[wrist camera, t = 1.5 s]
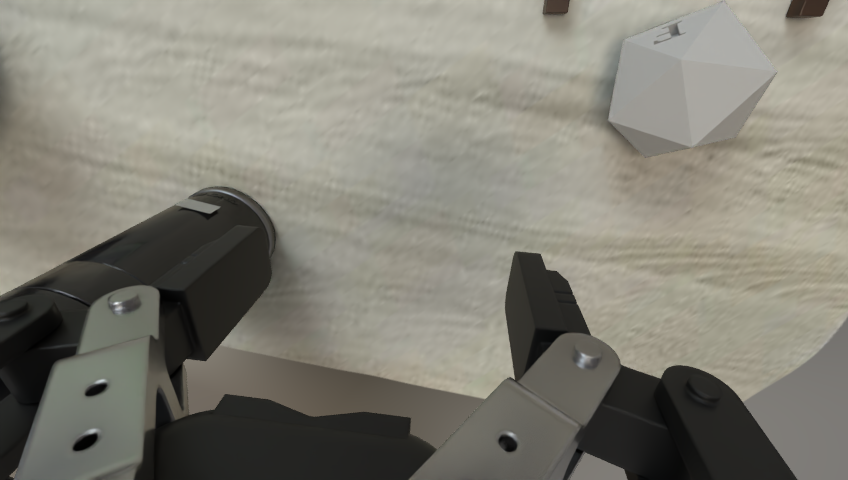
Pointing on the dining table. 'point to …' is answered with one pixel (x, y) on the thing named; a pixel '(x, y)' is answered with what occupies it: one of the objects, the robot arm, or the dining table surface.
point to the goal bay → (804, 5)
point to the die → (688, 82)
